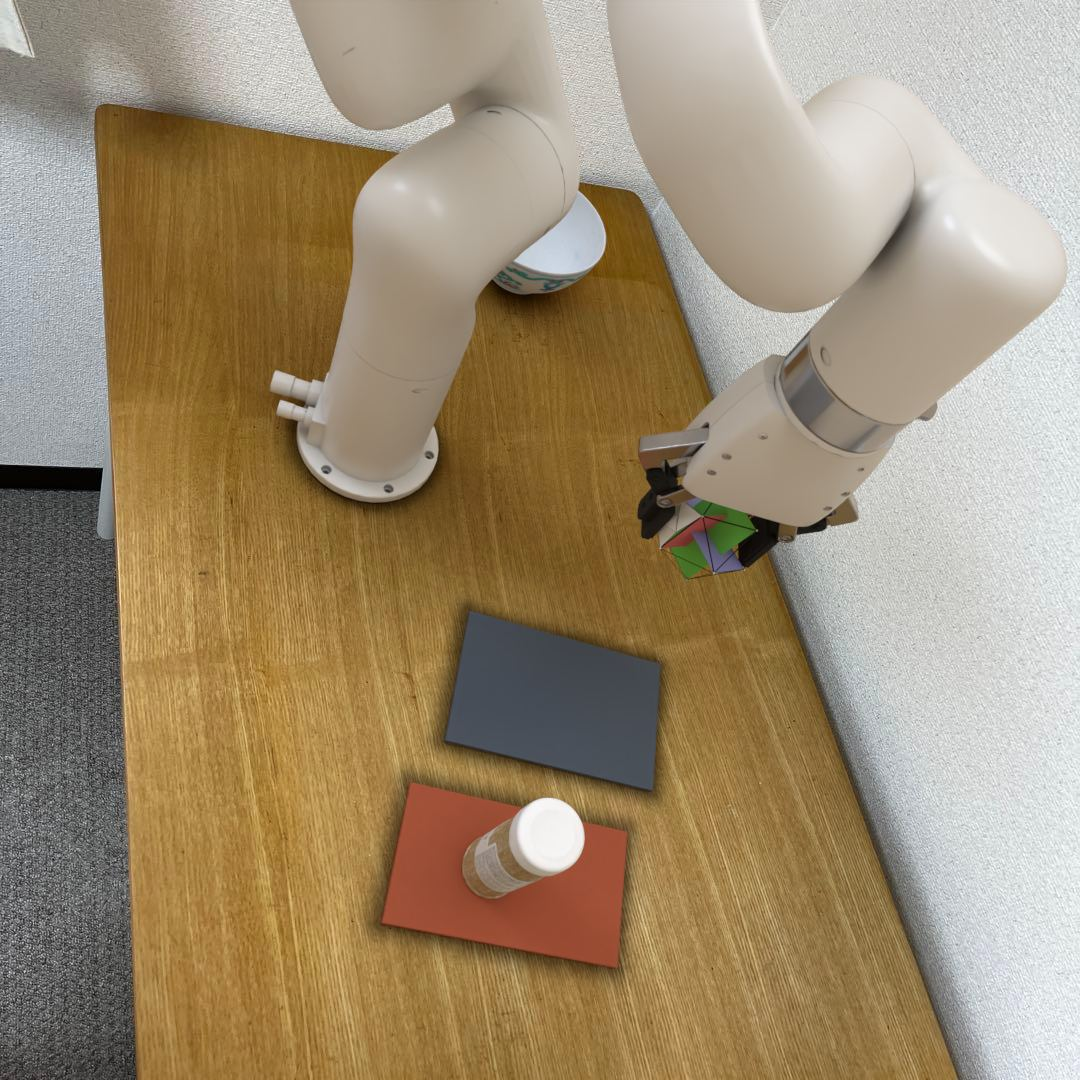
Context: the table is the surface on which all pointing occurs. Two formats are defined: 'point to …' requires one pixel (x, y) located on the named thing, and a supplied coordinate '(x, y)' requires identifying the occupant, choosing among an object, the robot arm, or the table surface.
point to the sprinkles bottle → (524, 849)
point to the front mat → (519, 916)
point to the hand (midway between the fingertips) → (695, 535)
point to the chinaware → (558, 253)
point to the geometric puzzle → (705, 537)
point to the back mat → (555, 703)
